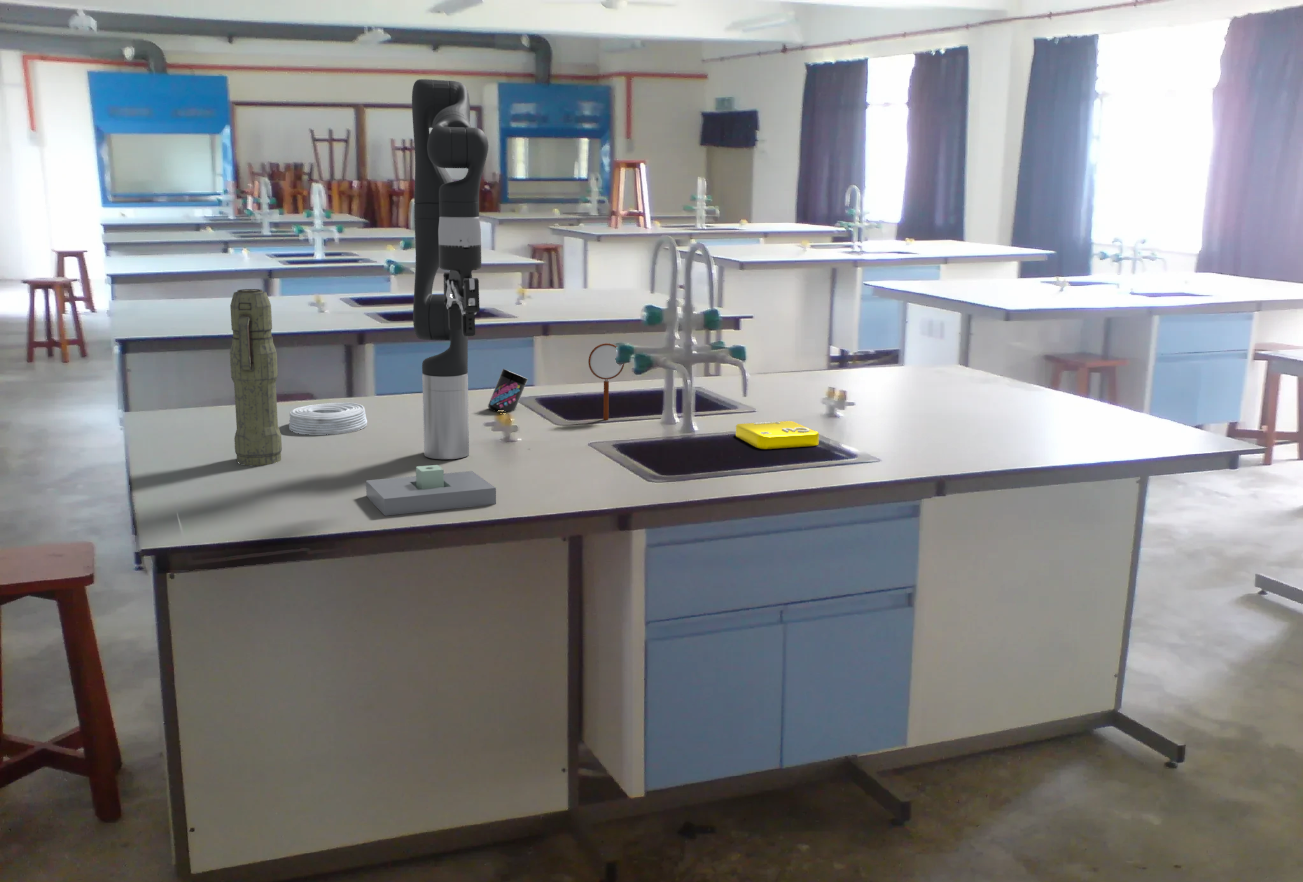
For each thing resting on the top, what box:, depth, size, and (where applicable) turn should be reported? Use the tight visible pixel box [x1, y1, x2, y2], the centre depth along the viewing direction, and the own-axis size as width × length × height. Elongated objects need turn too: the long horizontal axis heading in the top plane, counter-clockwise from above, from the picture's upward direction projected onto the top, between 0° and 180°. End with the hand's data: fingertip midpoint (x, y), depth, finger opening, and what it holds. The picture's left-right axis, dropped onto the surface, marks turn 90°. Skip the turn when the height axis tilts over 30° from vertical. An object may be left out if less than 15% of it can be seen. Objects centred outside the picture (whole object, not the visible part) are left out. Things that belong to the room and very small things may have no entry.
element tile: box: [735, 420, 820, 450], centre depth 262 cm, size 15×15×5 cm
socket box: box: [365, 470, 497, 516], centre depth 211 cm, size 14×20×3 cm
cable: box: [288, 402, 368, 436], centre depth 268 cm, size 18×18×6 cm
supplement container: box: [487, 368, 529, 413], centre depth 289 cm, size 7×7×10 cm
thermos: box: [229, 288, 283, 467], centre depth 233 cm, size 9×12×35 cm
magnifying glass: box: [588, 342, 625, 421], centre depth 279 cm, size 9×2×20 cm, turn 101°
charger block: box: [415, 464, 445, 490], centre depth 211 cm, size 4×4×6 cm
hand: (461, 332), depth 213 cm, fingers open, 8 cm apart
